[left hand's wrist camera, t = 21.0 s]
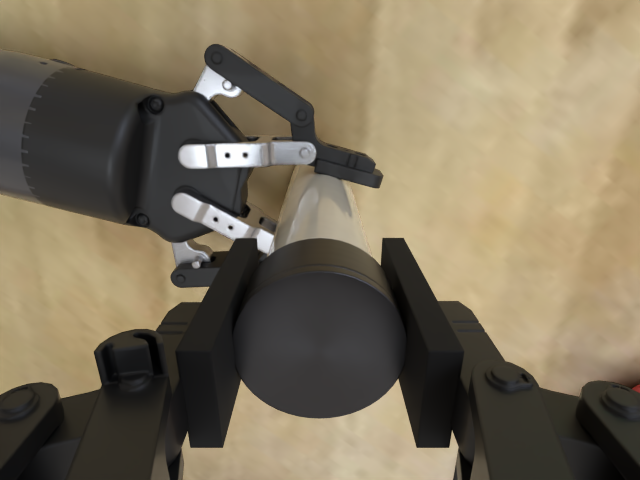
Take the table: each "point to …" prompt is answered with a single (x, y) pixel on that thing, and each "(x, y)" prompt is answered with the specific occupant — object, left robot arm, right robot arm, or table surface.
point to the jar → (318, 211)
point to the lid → (319, 330)
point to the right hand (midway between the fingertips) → (365, 216)
